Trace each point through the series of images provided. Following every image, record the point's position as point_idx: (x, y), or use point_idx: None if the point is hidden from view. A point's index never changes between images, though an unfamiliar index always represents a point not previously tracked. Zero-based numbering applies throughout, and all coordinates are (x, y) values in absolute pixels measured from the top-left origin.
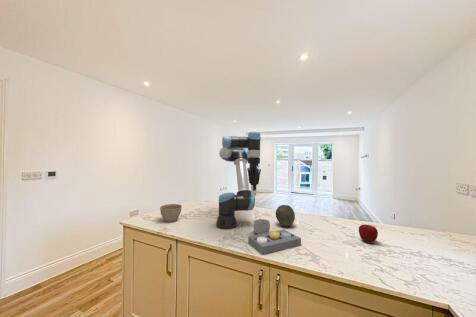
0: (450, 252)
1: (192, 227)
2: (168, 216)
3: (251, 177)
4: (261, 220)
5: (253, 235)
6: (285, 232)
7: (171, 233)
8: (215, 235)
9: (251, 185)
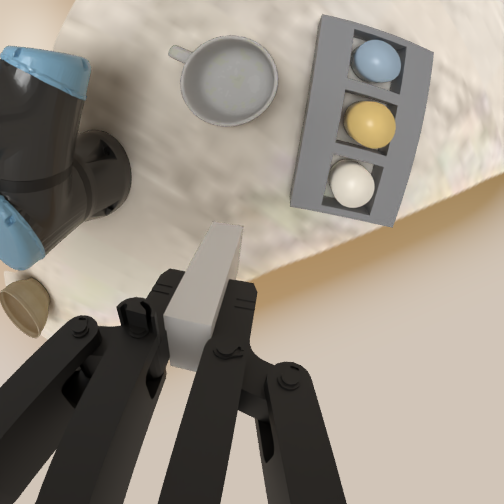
0: None
1: (87, 274)
2: (46, 316)
3: (130, 476)
4: (195, 57)
5: (296, 182)
6: (367, 49)
7: None
8: (167, 252)
9: (183, 363)
